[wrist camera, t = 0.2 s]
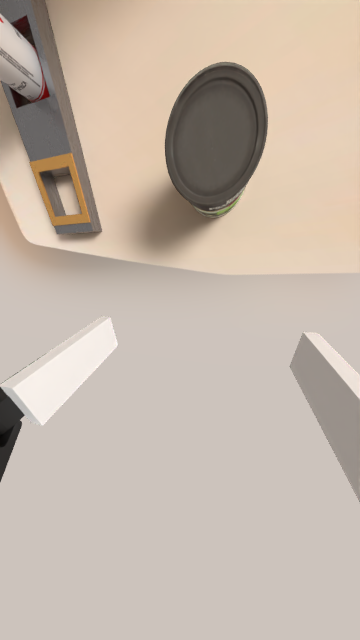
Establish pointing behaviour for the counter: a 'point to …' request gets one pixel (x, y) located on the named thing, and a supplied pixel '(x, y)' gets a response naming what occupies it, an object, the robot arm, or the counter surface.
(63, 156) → the grey slotted tray
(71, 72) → the counter surface
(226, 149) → the coffee can
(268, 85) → the counter surface
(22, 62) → the beer can
